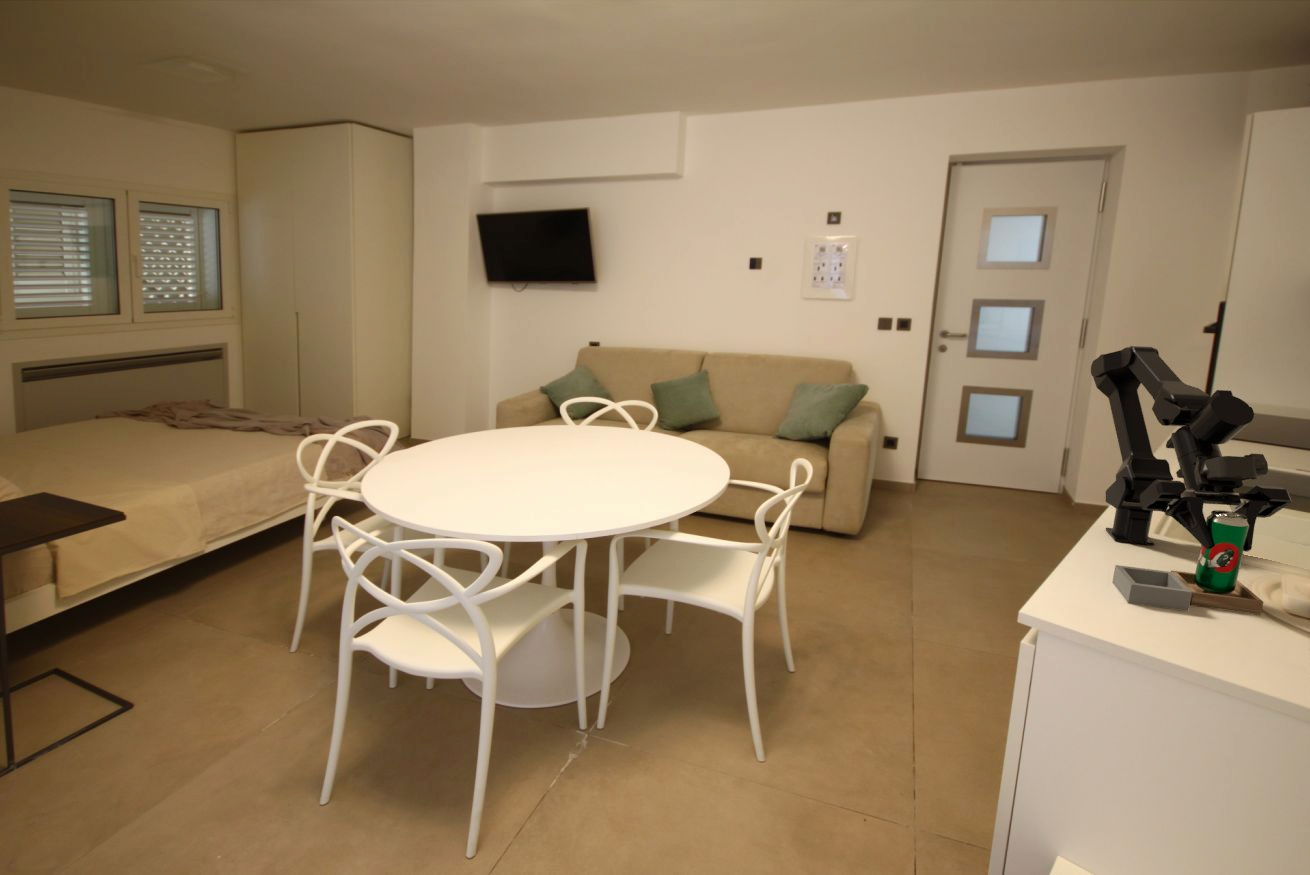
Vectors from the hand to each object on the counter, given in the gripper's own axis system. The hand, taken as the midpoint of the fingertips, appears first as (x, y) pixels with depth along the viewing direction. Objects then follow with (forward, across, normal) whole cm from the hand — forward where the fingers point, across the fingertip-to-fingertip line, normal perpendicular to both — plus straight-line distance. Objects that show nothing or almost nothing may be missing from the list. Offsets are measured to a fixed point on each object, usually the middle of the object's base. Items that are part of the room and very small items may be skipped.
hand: (1228, 549), depth 107 cm
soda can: (+4, 0, +6) cm, 7 cm away
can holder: (+6, -10, +6) cm, 13 cm away
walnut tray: (+5, 0, +7) cm, 8 cm away
